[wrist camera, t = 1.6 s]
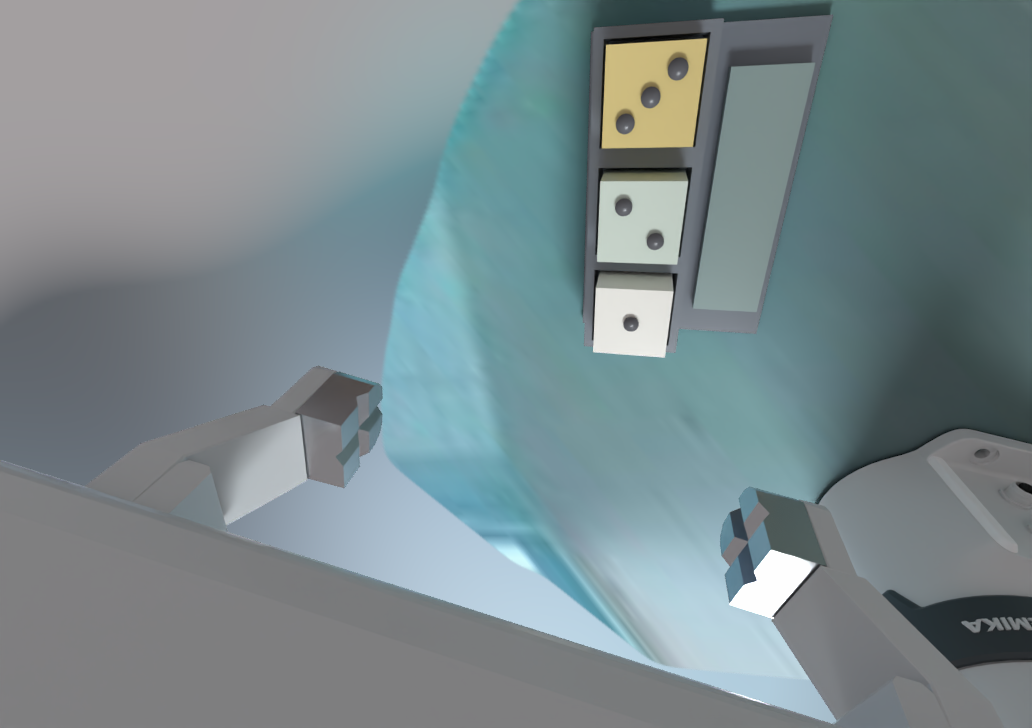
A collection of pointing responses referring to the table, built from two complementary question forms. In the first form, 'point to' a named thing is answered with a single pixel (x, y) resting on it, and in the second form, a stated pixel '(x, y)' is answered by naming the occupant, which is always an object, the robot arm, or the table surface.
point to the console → (717, 163)
